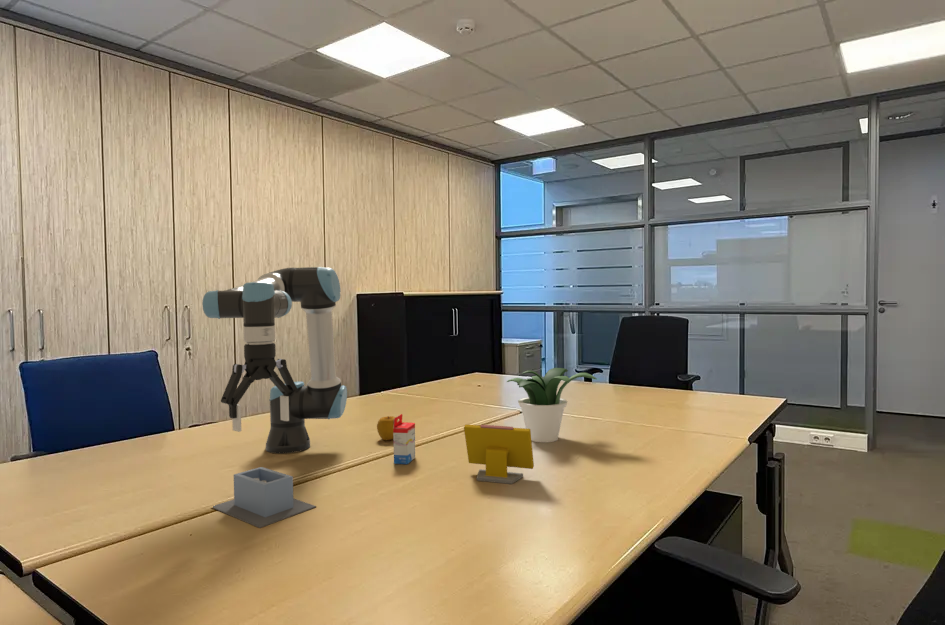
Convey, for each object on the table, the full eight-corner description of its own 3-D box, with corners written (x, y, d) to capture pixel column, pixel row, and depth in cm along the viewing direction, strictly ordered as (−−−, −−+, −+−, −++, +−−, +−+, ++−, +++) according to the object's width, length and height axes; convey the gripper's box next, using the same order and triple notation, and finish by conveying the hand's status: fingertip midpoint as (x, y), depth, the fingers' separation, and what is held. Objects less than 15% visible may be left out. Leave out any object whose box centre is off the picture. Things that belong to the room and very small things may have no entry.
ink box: (407, 464, 181) (407, 419, 181) (393, 464, 182) (392, 418, 182) (415, 457, 190) (415, 413, 189) (401, 456, 191) (401, 413, 190)
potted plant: (591, 453, 191) (590, 378, 190) (492, 445, 203) (491, 374, 203) (603, 432, 221) (603, 367, 220) (516, 425, 233) (516, 364, 232)
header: (211, 507, 146) (210, 481, 146) (266, 490, 159) (266, 466, 159) (259, 528, 133) (259, 499, 133) (316, 507, 146) (315, 481, 145)
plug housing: (234, 505, 147) (233, 474, 147) (262, 496, 153) (261, 466, 153) (265, 517, 139) (264, 485, 138) (293, 507, 145) (292, 476, 145)
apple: (393, 443, 208) (392, 419, 208) (372, 441, 211) (372, 418, 210) (403, 437, 216) (403, 414, 216) (383, 436, 219) (383, 413, 218)
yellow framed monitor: (534, 477, 168) (533, 424, 167) (527, 485, 160) (527, 430, 160) (470, 471, 174) (469, 420, 174) (461, 479, 167) (460, 425, 166)
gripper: (220, 347, 132) (223, 437, 133) (309, 339, 152) (311, 418, 153) (204, 346, 137) (206, 433, 138) (292, 338, 157) (294, 414, 158)
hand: (261, 425), depth 145 cm, fingers open, 13 cm apart
